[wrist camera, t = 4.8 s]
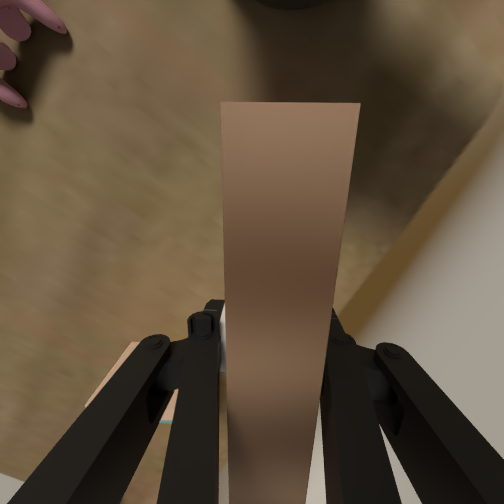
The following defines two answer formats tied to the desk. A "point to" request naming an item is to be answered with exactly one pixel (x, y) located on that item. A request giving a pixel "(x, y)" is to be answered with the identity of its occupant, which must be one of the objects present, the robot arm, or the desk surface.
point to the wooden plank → (280, 283)
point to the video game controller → (21, 37)
